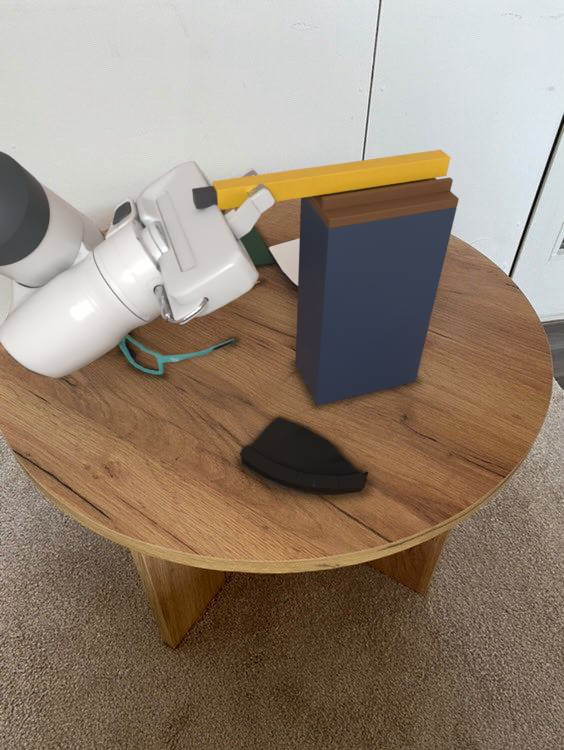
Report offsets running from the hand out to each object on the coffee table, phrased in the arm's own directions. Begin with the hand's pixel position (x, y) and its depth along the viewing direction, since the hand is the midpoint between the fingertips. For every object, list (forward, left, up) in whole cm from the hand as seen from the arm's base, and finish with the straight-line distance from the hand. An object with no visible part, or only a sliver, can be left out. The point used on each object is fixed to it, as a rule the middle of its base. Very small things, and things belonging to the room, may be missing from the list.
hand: (264, 183), depth 55 cm
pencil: (-2, +23, -29) cm, 37 cm away
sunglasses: (-12, +12, -29) cm, 33 cm away
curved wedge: (+2, -12, -29) cm, 31 cm away
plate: (+16, +25, -29) cm, 41 cm away
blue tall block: (+12, +2, -29) cm, 31 cm away
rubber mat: (-9, +33, -29) cm, 45 cm away
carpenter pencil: (+7, +1, -1) cm, 7 cm away
